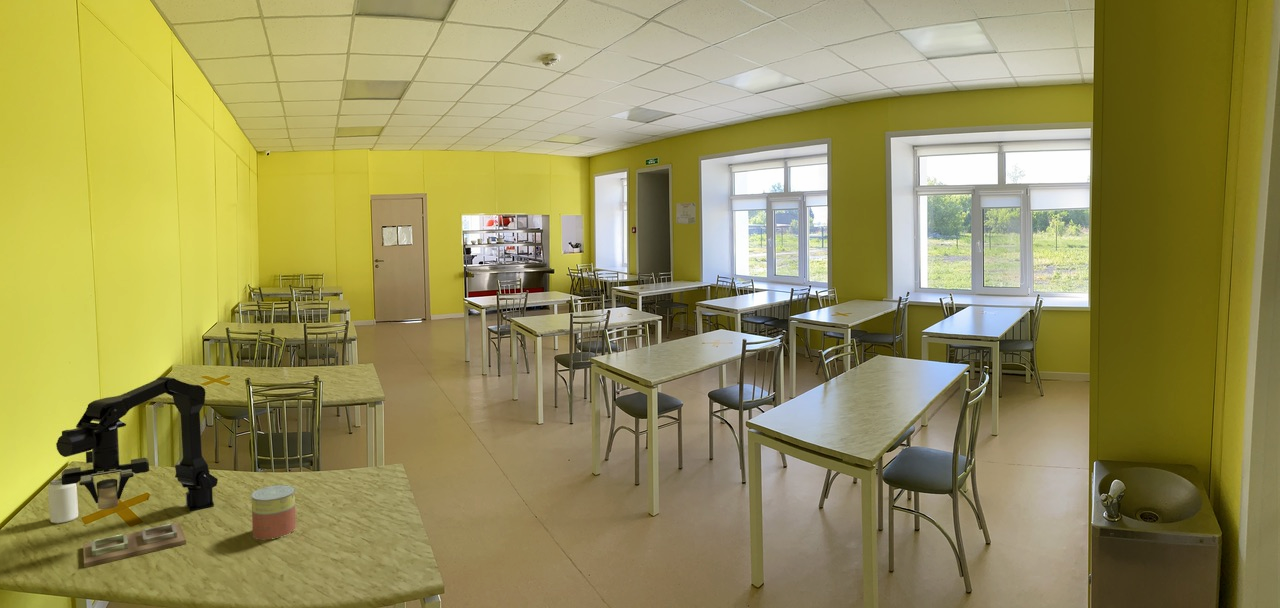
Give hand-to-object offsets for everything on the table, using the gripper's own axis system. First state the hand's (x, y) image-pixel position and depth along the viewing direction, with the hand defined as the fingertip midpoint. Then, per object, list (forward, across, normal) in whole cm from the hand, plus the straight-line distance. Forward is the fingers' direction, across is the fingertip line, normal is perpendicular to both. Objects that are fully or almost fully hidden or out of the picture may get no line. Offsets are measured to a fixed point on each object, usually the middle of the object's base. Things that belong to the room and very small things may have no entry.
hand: (107, 500), depth 185 cm
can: (+12, +10, -27) cm, 32 cm away
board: (+12, -5, +6) cm, 15 cm away
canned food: (+12, -38, +18) cm, 44 cm away
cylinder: (+2, 0, 0) cm, 2 cm away
